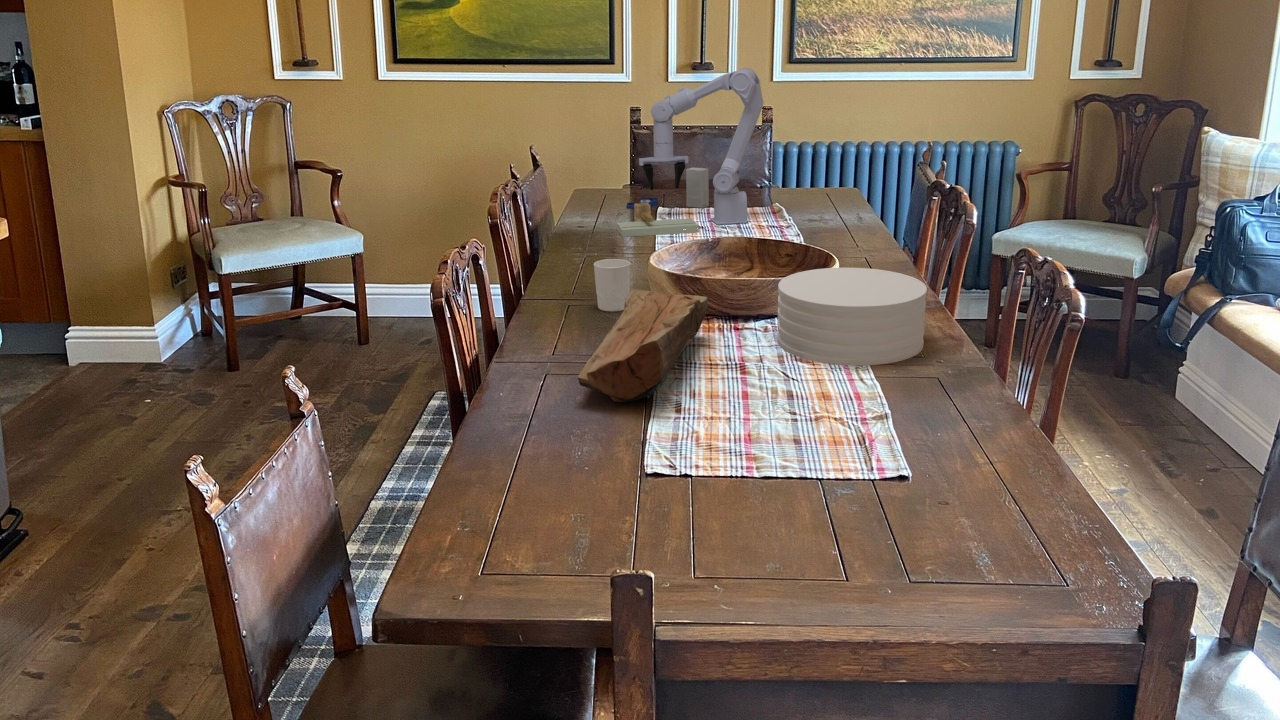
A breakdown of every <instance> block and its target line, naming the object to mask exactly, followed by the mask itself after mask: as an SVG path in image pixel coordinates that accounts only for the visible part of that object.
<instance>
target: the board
mask: <svg viewBox="0 0 1280 720" xmlns="http://www.w3.org/2000/svg"><path fill="white" fill-rule="evenodd" d="M697 228H700V226H699V224H698V223H697V222H696V221H695V220H693V218H675V219H658V220H655V219H653V222H647V221H638V222H634V221H624V222H616V230H617V232H618V234H620V236H621V237H622V238H626V237H627V238H628V237H629V238H630V237H645V236H657V235H658V236H659V235H661V236H662V235H673V234H690V233H691V234H692V233H693V234H694V233H700V232H699V231H700V229H697ZM683 229H686V230H683Z"/></svg>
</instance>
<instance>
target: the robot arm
mask: <svg viewBox="0 0 1280 720" xmlns="http://www.w3.org/2000/svg"><path fill="white" fill-rule="evenodd" d="M761 88H762V87H761V79H760V78H759V76H758V75H757V73H756V71H755V70H753V69H752V68H749V67H743V68H741V69H738V70H735V71H732V72H729V73H725V74H723V75H720V76H718V77H716V78H713V79H711V80H710V81H709V82H706V83H704V84H703V85H701V86H698V87H697V88H695V89H692V88H689V87H685V88H684V87H681V88H679V89H678V92H676V93H673V94H672V95H670V96H669V95H666V96H664V97H663V98H664V99H662V100H658V101H657V102H655V103H654V104H653V105H652V106H651V109H650V114H651V116H652V119H653V129H652V130H653V156H649V157H642V158H641V157H639V158H638V165H639V166H640V167H642V168H643V171H644V173H645V175H646V178H647V181H648V187H649V190H650V191H653V190H654V179H653V177H654V167H653V165H654V166H655V165H669V164H670V165H674V166H673V167H674V188H675V189H679V187H680V182H681V178H682V176H683V174H684V171H685V170H686V164H689V156H688V155H674V125H673V117H674V116H678V115H680V114H682V113H684V112H686V111H688V110H690V109H693V108H695V107H696V106H697V103H698V101H699V100H700V99H703V98H705V97H707V96H709V95H712V94H714V93H716V92H719V91H721V90H724V91H731V90H732V91H733V92H734V93H735V94H736V95H738V96H739V98H740V100H741V102H742V103H743V106H744V109H743V111H742V114H741V117H740V119H739V122H738V124H737V127H736V130H735V132H734V135H733V138H732V140H731V143H730V145H729V147H728V150H727V153H726V157H725V159H724V161H723V163H722V164H721V166H720V169H719V170H718V172H717V173H716V174H715V175H714V177H713V179H712V185H713V188H714V190H713V202H714V203H713V213H714V214H713V217H710V221H712V222H713V223H714V224H715V225H733V224H734V225H735V224H748V222H749V221H748V198H747V193H746V191H744V190H739V188H738V186H737V185H738V184H739V182H740V170H741V167H742V162H743V160H744V156H745V154H746V151H747V149H748V146H749V144H750V142H751V137H752V135H753V133H754V130H755V129H756V128H755V127H756V125H757V124H758V123H757V122H758V120H759V117H760V114H761V113H762V109H763V107H764V99H763V93H762V89H761Z"/></svg>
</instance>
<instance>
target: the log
mask: <svg viewBox="0 0 1280 720" xmlns="http://www.w3.org/2000/svg"><path fill="white" fill-rule="evenodd" d="M708 298H709V297H708V296H702V295H692V294H675V293H674V294H673V293H659V292H656V291H653V290H641V289H637V288H636V289H635V288H632V289H631V290H630V291H629V294H628V295H627V296H626V298H625V305H624V310H622V311H623V312H622V313H621V315H620V316H619V318H618V319H617V320H616V322H615V324H614V325H613V326H612V328H610V330H609V331H608V332H607V334H606V335H605V336H604V337H603V339H602V340H601V342H600V343H599V344H598V346H597V347H596V348H595V350H594V351H593V353H592V354H591V355H590V356H589V358H588V360H587V362H586V364H585V365H584V366H583V368H582V370H581V371H580V373H579V375H578V376H577V380H578V383H579V385H580V386H582V387H583V388H587V389H589V390H592V391H595V392H598V393H601V394H604V395H607V396H609V397H610V399H611V400H612V401H613V402H617V403H618V402H619V403H620V402H622V403H623V402H624V403H628V402H633V401H637V400H641V399H646V398H647V399H648V398H650V397H652V396H653V395H654V393H655V392H657V391H656V390H657V389H658V388H659V387H660V385H661V384H662V382H663V381H664V380H665V378H666V377H667V375H668V374H669V373H670V371H671V369H672V368H673V366H674V364H675V363H676V361H677V360H678V358H679V357H680V355H681V353H682V351H684V349H685V348H686V347H687V346H688V345H689V344H690V343H691V341H692V340H694V339H695V337H696V336H697V334H698V333H699V330H700V329H701V326H702V323H703V321H704V319H705V316H706V314H707V311H708Z"/></svg>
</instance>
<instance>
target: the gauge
mask: <svg viewBox="0 0 1280 720" xmlns="http://www.w3.org/2000/svg"><path fill="white" fill-rule="evenodd" d="M636 203H637V204H634V209H633V211H634V212H633V219H634V221H633V222H638V221H647V222H653V221H654V217H653V216H652V215H651V214H652V213H651V212H652V210H651V208H650V205H649V204H648V203H639V202H636Z"/></svg>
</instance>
